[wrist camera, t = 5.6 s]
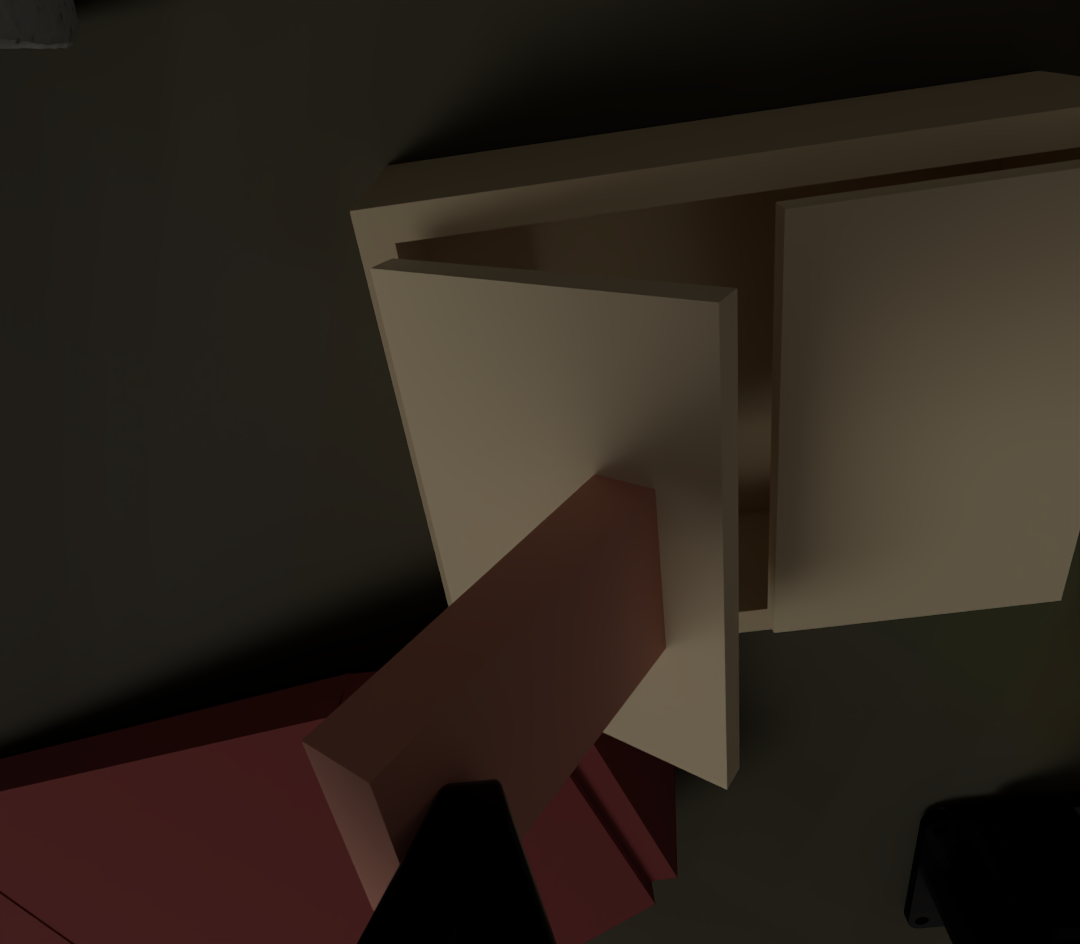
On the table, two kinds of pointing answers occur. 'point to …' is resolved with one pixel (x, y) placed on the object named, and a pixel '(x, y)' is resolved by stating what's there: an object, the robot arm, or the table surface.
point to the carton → (276, 834)
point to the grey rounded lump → (37, 24)
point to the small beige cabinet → (704, 217)
